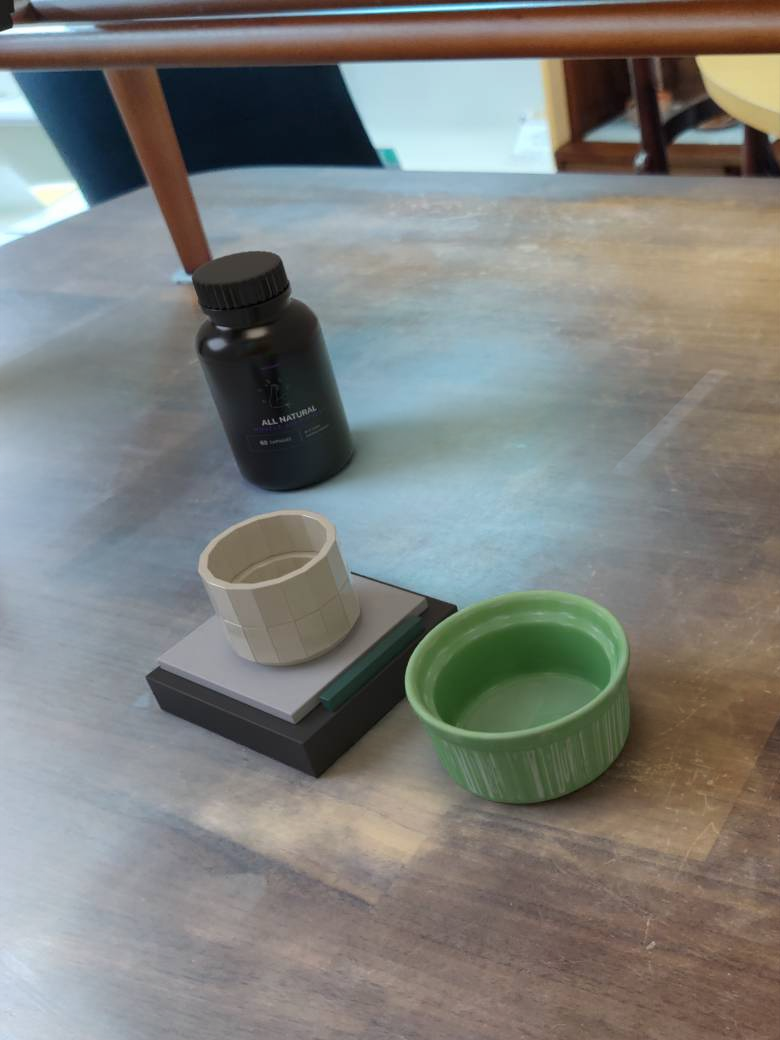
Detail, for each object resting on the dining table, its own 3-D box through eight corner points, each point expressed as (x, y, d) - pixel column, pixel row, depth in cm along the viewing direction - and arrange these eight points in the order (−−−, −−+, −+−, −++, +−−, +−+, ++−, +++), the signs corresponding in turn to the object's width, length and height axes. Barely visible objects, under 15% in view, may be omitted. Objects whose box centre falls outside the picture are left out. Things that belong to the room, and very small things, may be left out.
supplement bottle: (304, 503, 67) (234, 300, 60) (218, 482, 70) (141, 287, 63) (381, 443, 72) (324, 247, 64) (296, 426, 75) (232, 237, 67)
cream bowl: (206, 651, 53) (169, 569, 50) (298, 578, 57) (269, 498, 54) (298, 687, 50) (265, 602, 48) (389, 609, 54) (363, 526, 51)
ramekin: (491, 653, 55) (471, 575, 52) (674, 686, 52) (663, 606, 49) (389, 791, 49) (360, 712, 46) (589, 839, 45) (571, 757, 43)
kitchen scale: (160, 709, 55) (138, 665, 53) (314, 587, 61) (298, 544, 59) (316, 778, 50) (297, 732, 48) (466, 638, 56) (454, 593, 54)
